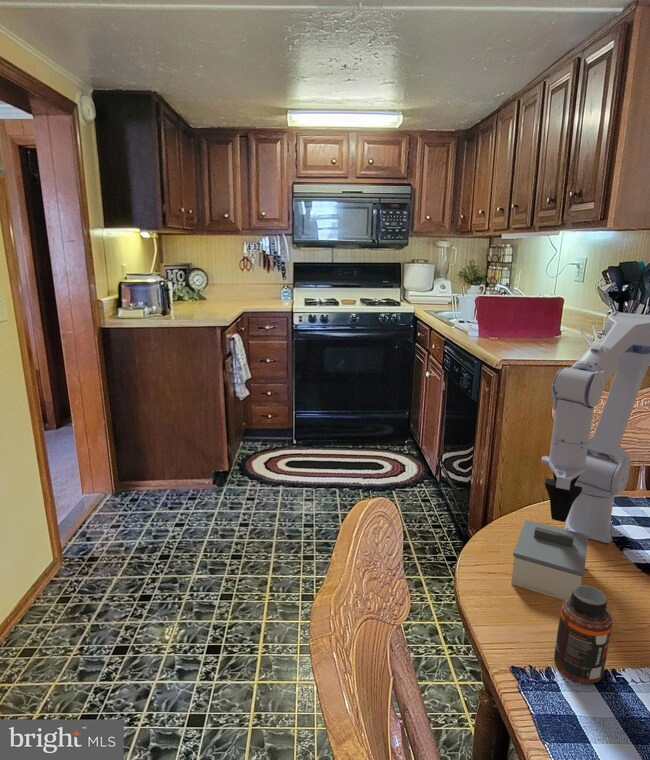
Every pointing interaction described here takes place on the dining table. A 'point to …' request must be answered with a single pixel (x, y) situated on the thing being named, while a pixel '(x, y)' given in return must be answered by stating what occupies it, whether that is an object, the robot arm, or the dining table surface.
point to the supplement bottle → (583, 635)
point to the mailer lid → (552, 547)
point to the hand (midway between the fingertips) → (560, 510)
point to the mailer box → (544, 578)
